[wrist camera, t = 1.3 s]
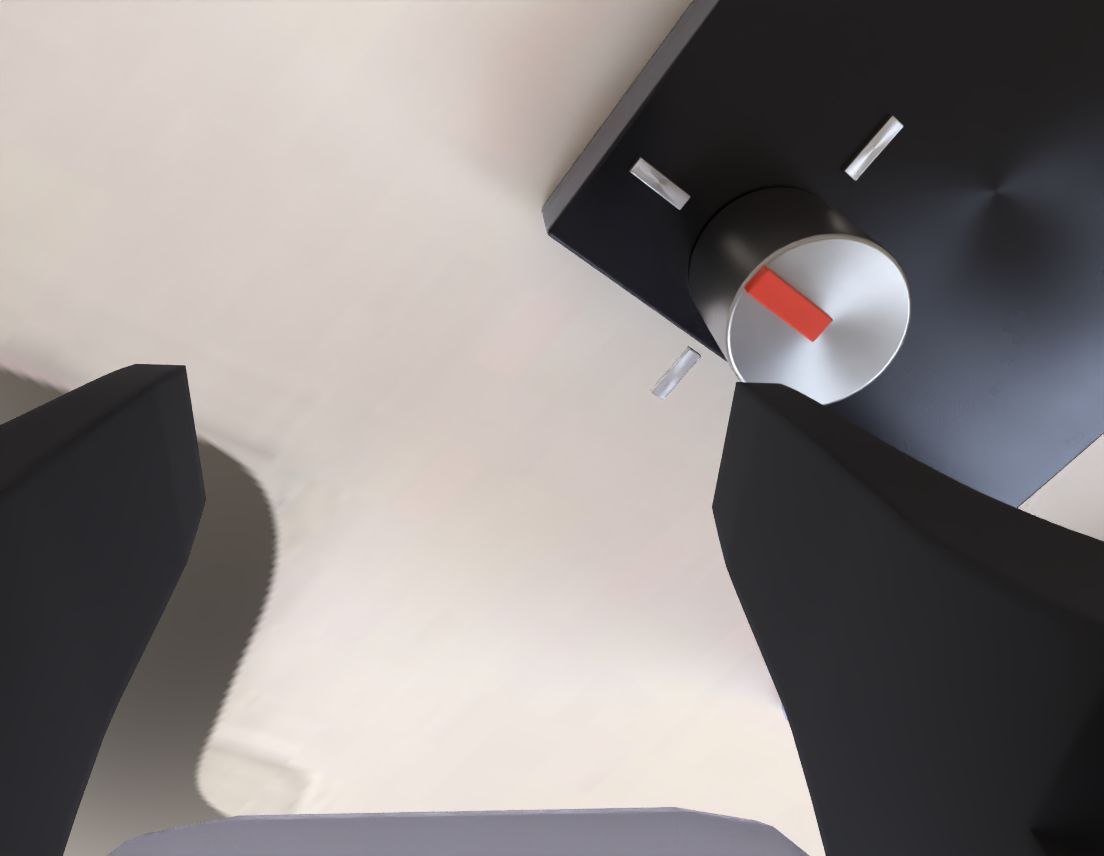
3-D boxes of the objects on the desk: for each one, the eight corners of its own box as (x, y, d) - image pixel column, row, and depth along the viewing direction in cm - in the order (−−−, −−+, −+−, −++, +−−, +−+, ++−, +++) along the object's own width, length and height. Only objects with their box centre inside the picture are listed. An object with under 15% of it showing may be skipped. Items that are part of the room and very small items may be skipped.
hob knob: (880, 248, 19) (960, 311, 16) (769, 368, 21) (823, 447, 17) (765, 151, 18) (827, 199, 15) (655, 285, 19) (690, 355, 16)
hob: (1354, 132, 21) (1440, 151, 19) (906, 537, 26) (939, 583, 24) (962, -370, 16) (1027, -411, 14) (500, 262, 21) (503, 294, 19)
